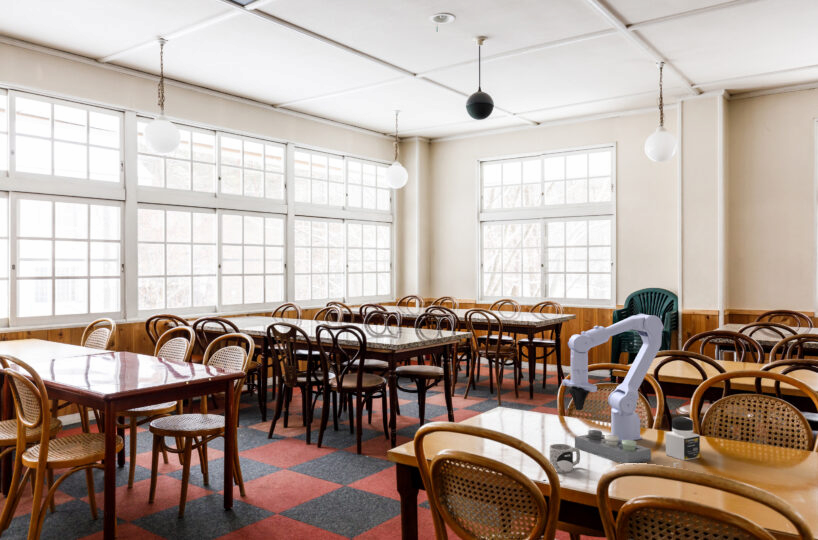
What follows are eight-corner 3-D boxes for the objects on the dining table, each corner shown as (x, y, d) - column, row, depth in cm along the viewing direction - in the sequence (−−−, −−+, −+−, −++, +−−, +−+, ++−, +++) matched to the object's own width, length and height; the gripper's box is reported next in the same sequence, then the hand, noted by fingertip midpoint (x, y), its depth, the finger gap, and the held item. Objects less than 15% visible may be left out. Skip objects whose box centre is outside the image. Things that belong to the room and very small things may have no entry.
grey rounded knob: (594, 441, 209) (594, 429, 209) (604, 444, 205) (604, 432, 205) (585, 443, 207) (585, 431, 207) (595, 446, 203) (595, 433, 203)
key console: (597, 443, 212) (597, 432, 212) (651, 460, 193) (650, 449, 193) (574, 447, 207) (574, 436, 207) (628, 465, 188) (627, 453, 188)
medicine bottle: (684, 461, 192) (684, 421, 192) (665, 455, 198) (665, 416, 198) (700, 457, 195) (700, 419, 195) (680, 451, 202) (680, 414, 202)
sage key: (628, 451, 197) (628, 439, 197) (639, 455, 193) (639, 442, 193) (618, 453, 195) (618, 440, 195) (629, 457, 191) (629, 444, 191)
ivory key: (611, 446, 203) (611, 434, 203) (621, 449, 199) (621, 437, 199) (601, 448, 201) (601, 435, 201) (611, 451, 197) (611, 438, 197)
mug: (558, 474, 180) (558, 451, 180) (545, 467, 186) (544, 445, 186) (587, 470, 184) (587, 447, 184) (572, 463, 190) (572, 441, 190)
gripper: (555, 367, 221) (555, 406, 221) (586, 373, 208) (586, 415, 208) (570, 366, 224) (570, 404, 224) (601, 372, 211) (601, 412, 211)
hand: (579, 409), depth 216 cm, fingers closed
